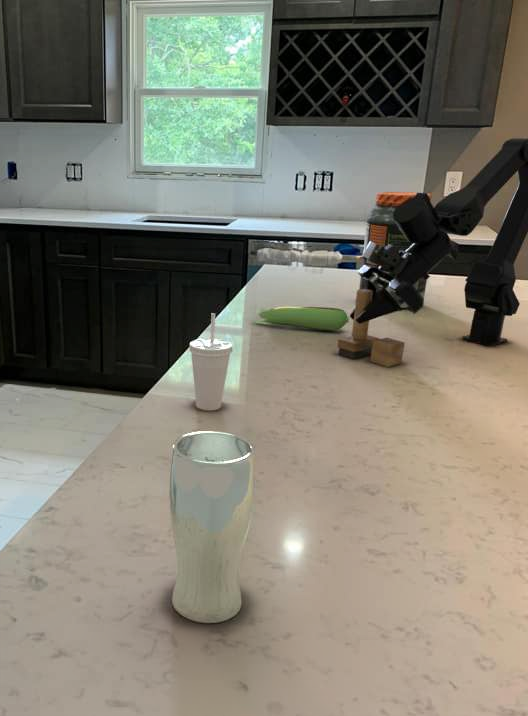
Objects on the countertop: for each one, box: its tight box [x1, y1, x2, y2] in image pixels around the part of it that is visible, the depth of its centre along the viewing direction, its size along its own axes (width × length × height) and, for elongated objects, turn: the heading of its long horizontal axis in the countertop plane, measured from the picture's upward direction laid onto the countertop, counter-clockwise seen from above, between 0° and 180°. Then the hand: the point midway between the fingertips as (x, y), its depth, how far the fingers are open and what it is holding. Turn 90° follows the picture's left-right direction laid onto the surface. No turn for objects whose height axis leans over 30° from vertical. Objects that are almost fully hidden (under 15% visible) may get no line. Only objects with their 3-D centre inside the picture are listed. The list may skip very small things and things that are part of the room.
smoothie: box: [188, 312, 234, 411], centre depth 108 cm, size 6×6×14 cm
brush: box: [337, 288, 381, 360], centre depth 136 cm, size 7×4×12 cm, turn 127°
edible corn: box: [253, 306, 350, 332], centre depth 156 cm, size 5×20×5 cm, turn 74°
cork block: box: [369, 337, 406, 368], centre depth 133 cm, size 4×4×4 cm
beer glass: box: [168, 430, 256, 624], centre depth 61 cm, size 7×7×15 cm
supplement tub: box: [358, 191, 432, 309], centre depth 176 cm, size 16×16×26 cm
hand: (354, 319), depth 136 cm, fingers closed on brush, 3 cm apart
